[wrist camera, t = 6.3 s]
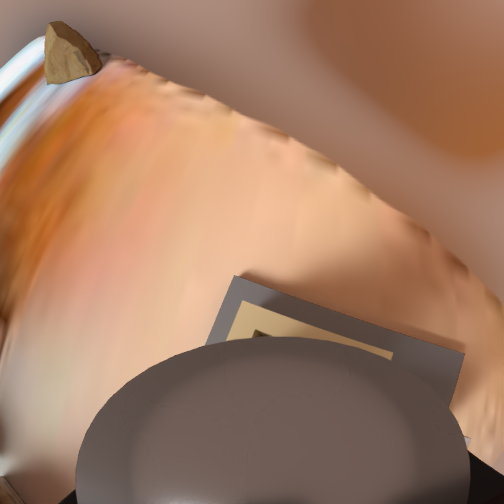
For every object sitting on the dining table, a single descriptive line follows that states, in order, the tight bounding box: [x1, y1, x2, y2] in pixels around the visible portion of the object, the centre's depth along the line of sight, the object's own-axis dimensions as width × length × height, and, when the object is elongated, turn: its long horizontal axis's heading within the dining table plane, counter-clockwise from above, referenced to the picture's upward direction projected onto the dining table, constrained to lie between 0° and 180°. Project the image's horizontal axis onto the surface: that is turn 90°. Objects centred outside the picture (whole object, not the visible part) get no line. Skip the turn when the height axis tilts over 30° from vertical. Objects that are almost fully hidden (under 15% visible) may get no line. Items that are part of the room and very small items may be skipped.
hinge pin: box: [76, 336, 470, 504], centre depth 8 cm, size 5×5×12 cm
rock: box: [44, 21, 102, 85], centre depth 32 cm, size 11×9×10 cm
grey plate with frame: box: [205, 275, 471, 446], centre depth 16 cm, size 19×19×6 cm
